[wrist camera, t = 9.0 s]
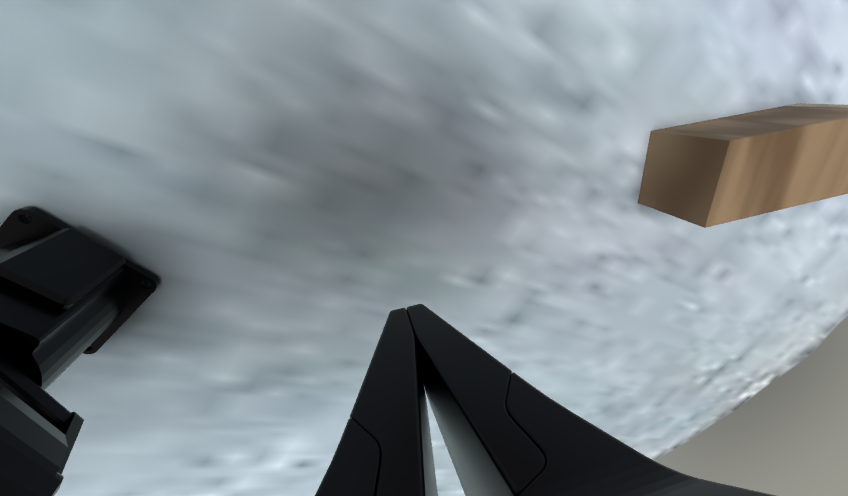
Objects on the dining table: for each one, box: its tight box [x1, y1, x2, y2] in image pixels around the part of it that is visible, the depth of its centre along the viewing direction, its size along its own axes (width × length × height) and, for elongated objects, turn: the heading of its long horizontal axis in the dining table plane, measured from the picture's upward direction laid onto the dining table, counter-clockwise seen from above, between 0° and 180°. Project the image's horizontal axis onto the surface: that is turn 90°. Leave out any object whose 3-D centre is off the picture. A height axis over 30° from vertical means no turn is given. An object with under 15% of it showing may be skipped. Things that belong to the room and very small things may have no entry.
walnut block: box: [638, 104, 848, 228], centre depth 21 cm, size 5×5×12 cm
